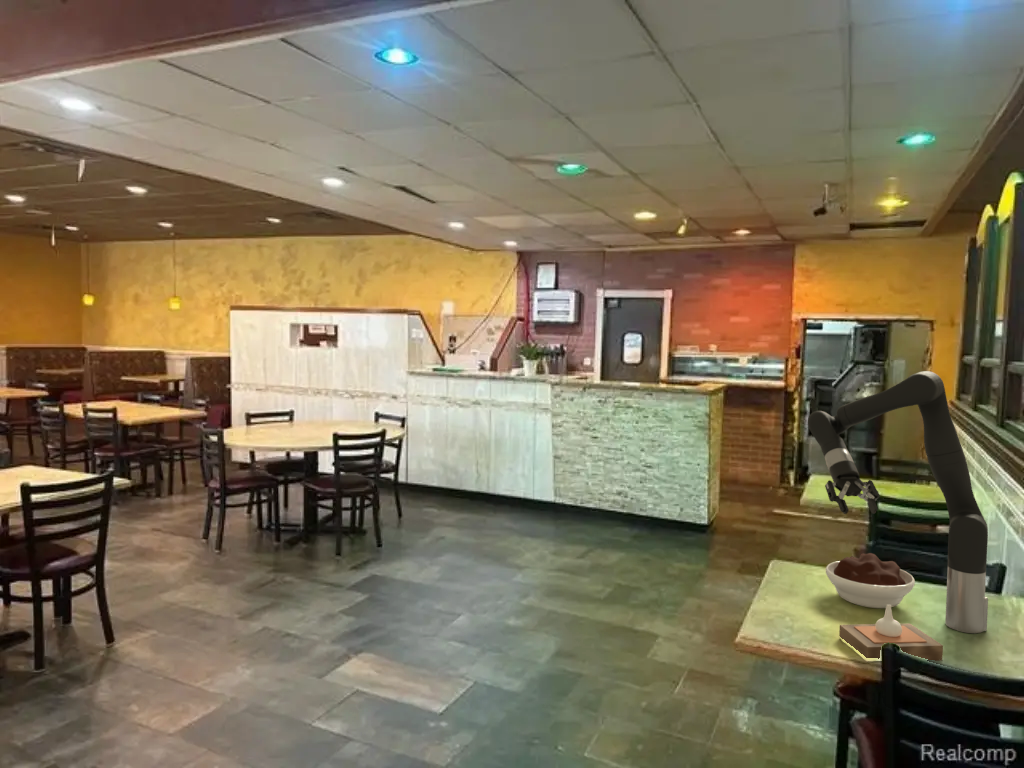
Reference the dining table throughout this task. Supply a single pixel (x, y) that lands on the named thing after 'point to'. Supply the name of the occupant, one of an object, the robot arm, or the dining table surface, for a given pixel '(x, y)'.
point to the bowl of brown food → (870, 581)
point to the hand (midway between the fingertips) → (860, 512)
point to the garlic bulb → (888, 624)
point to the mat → (876, 637)
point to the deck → (872, 650)
